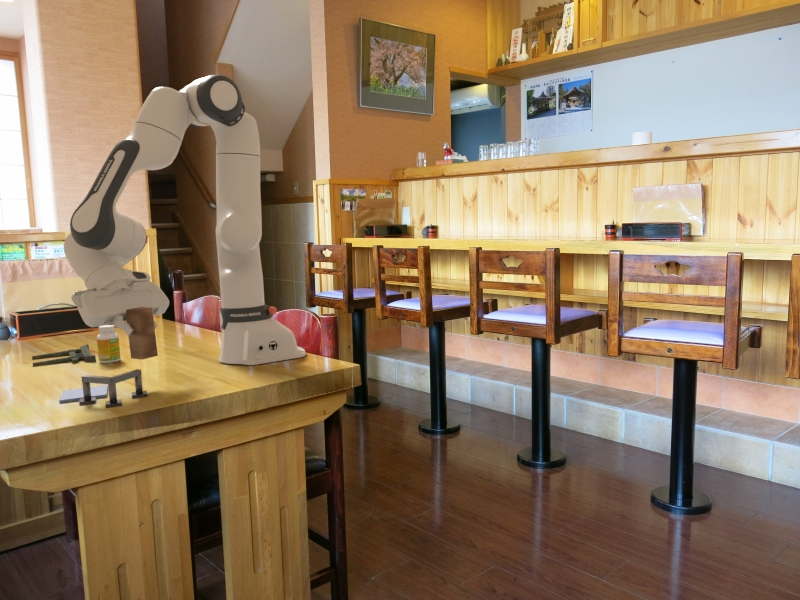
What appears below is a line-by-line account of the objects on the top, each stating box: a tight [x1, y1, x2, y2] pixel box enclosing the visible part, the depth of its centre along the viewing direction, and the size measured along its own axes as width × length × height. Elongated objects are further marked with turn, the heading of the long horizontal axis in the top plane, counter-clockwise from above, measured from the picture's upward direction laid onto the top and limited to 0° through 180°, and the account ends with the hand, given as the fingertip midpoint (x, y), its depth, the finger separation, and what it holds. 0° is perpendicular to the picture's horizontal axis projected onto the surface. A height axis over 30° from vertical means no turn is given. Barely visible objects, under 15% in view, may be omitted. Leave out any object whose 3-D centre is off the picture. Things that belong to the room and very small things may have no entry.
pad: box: [58, 384, 109, 404], centre depth 143 cm, size 9×9×1 cm
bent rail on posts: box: [78, 369, 148, 408], centre depth 136 cm, size 13×8×6 cm, turn 112°
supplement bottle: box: [96, 324, 121, 364], centre depth 178 cm, size 5×5×10 cm
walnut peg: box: [126, 307, 159, 360], centre depth 147 cm, size 4×4×11 cm
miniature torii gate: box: [31, 343, 97, 368], centre depth 185 cm, size 22×2×15 cm
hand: (143, 330), depth 146 cm, fingers closed on walnut peg, 4 cm apart
